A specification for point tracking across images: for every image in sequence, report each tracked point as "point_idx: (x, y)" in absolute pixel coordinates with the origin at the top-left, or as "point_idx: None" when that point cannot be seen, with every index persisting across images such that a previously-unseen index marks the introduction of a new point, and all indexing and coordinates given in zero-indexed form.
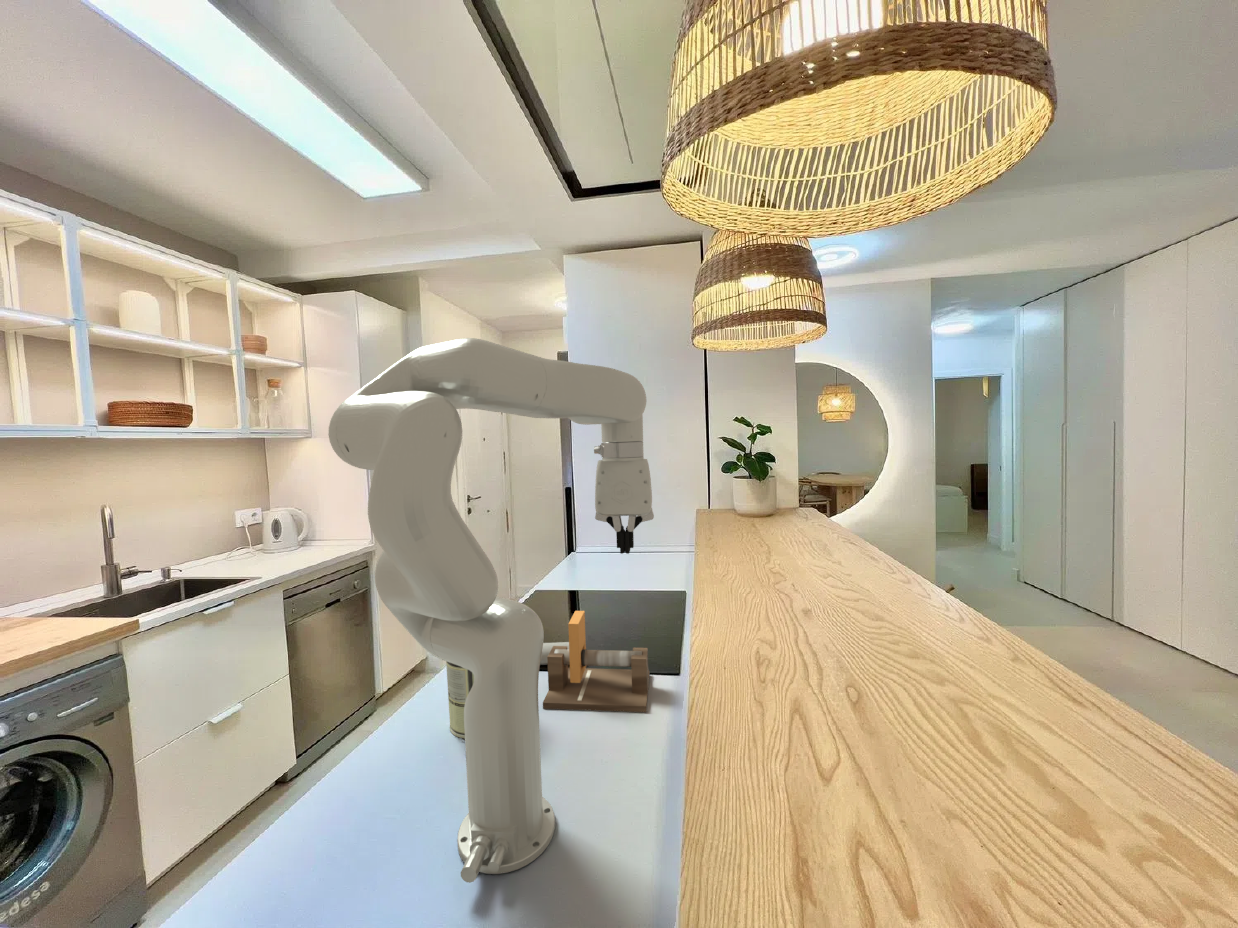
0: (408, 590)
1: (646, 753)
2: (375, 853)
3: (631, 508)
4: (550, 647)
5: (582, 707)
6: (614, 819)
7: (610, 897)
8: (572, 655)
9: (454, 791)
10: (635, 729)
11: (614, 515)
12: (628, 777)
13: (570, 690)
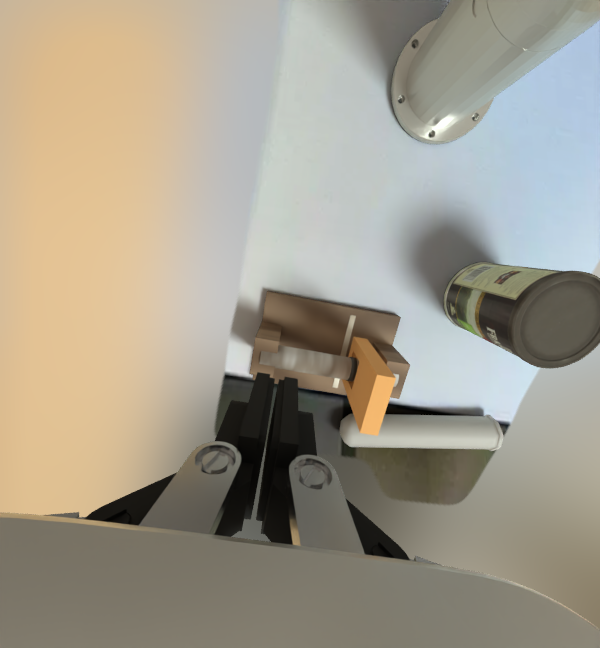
0: None
1: (276, 206)
2: (575, 76)
3: (75, 639)
4: (392, 432)
5: (348, 306)
6: (324, 92)
7: None
8: (373, 352)
9: (500, 165)
10: (284, 256)
11: (364, 554)
12: (302, 163)
13: None
